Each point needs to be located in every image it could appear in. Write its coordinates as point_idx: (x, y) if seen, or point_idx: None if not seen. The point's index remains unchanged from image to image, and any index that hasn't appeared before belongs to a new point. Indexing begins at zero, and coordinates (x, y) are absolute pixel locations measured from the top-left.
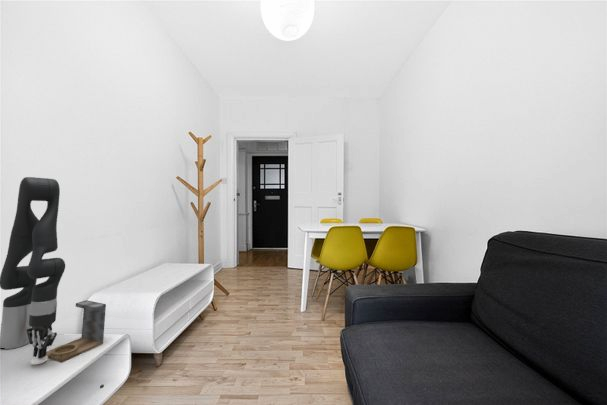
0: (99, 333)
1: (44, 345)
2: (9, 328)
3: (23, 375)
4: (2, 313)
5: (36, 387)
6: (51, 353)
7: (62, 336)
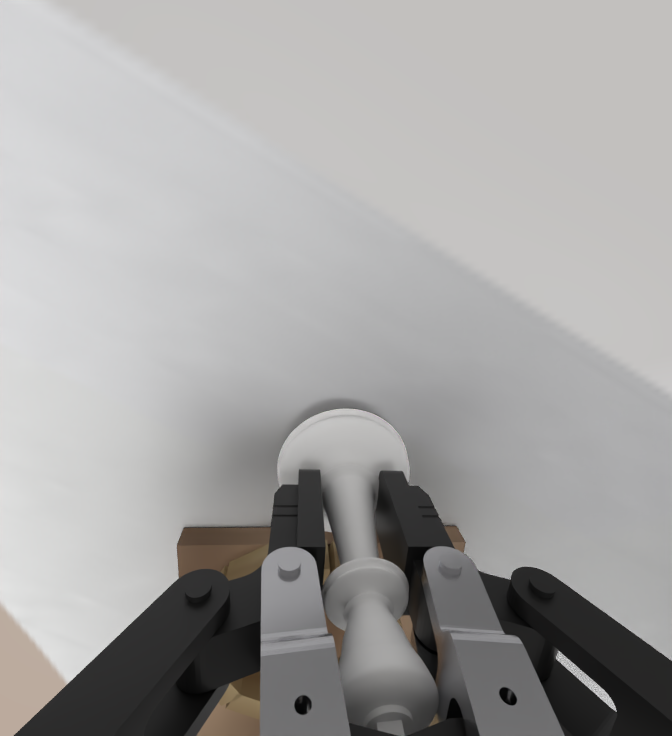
0: None
1: (154, 622)
2: None
3: (265, 292)
4: None
5: None
6: (326, 567)
7: None
